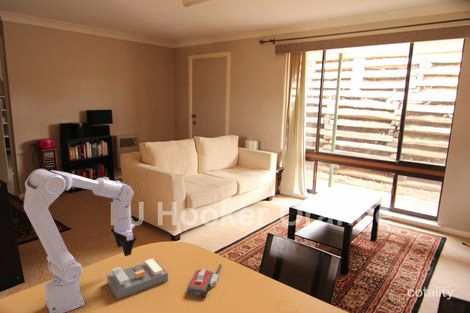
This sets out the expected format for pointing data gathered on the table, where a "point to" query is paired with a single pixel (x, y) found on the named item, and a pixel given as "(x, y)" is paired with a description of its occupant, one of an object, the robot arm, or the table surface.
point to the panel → (136, 281)
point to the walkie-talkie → (203, 282)
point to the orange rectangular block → (139, 274)
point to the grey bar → (120, 275)
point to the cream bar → (153, 266)
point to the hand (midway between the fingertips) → (124, 250)
